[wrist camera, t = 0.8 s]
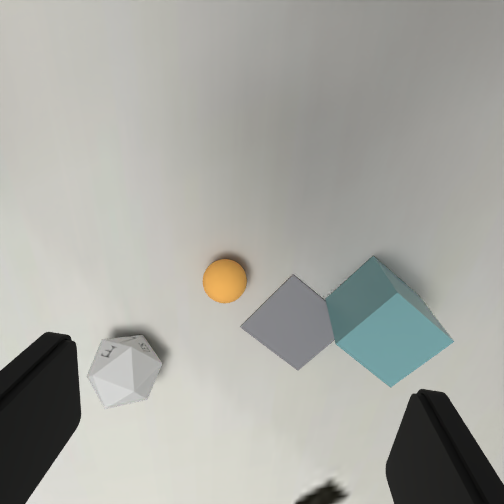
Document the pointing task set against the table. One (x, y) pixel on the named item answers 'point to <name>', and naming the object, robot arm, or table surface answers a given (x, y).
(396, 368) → the teal toy cube
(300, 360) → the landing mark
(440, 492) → the robot arm
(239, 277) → the ball
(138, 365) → the die
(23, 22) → the table surface
